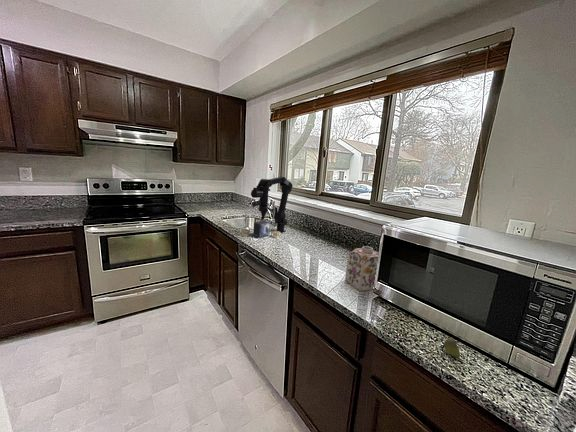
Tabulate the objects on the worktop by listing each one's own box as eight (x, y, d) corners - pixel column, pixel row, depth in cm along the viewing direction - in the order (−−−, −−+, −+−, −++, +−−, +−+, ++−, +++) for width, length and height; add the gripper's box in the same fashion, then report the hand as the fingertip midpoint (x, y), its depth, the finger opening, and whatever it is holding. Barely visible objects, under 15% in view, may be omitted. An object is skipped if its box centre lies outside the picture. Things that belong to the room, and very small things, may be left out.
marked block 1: (245, 234, 179) (245, 229, 178) (249, 235, 177) (250, 230, 176) (241, 235, 176) (242, 229, 175) (246, 236, 174) (246, 231, 173)
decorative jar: (380, 289, 111) (387, 251, 107) (359, 291, 106) (365, 252, 103) (364, 277, 122) (369, 243, 118) (344, 279, 117) (349, 243, 114)
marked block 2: (275, 236, 182) (275, 230, 181) (279, 237, 180) (280, 231, 179) (272, 237, 178) (272, 231, 177) (276, 238, 176) (277, 232, 175)
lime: (448, 347, 76) (451, 333, 75) (464, 359, 71) (468, 343, 70) (438, 350, 74) (441, 336, 73) (454, 362, 69) (458, 347, 68)
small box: (259, 238, 172) (260, 224, 170) (252, 236, 175) (253, 222, 173) (269, 236, 180) (270, 222, 178) (262, 234, 184) (263, 220, 182)
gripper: (253, 194, 181) (251, 215, 184) (251, 198, 163) (250, 221, 166) (268, 195, 182) (266, 216, 185) (268, 199, 164) (267, 221, 167)
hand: (262, 218), depth 176 cm, fingers closed
